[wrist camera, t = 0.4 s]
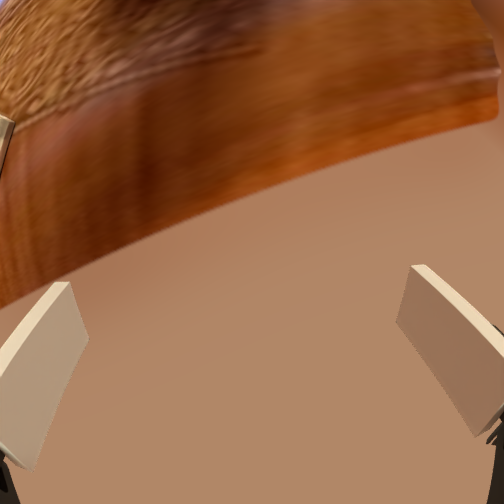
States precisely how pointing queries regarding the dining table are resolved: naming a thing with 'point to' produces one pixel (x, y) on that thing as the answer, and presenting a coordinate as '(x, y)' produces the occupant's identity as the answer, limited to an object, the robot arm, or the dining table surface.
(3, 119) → the joystick on frame
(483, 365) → the robot arm
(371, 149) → the dining table surface
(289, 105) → the dining table surface
